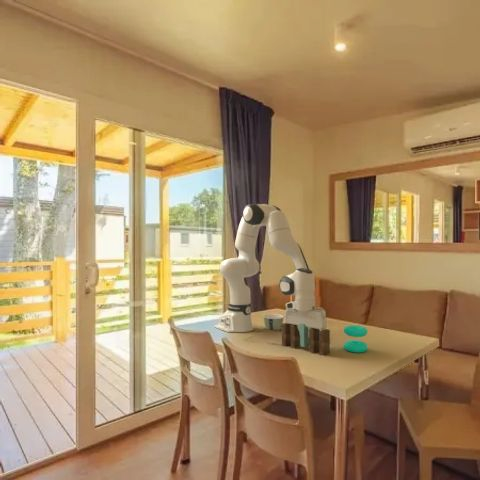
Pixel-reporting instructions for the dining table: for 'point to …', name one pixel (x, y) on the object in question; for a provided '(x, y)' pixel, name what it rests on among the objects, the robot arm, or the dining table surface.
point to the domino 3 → (303, 336)
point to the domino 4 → (314, 340)
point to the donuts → (355, 344)
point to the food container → (273, 321)
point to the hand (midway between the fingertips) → (305, 336)
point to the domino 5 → (324, 342)
